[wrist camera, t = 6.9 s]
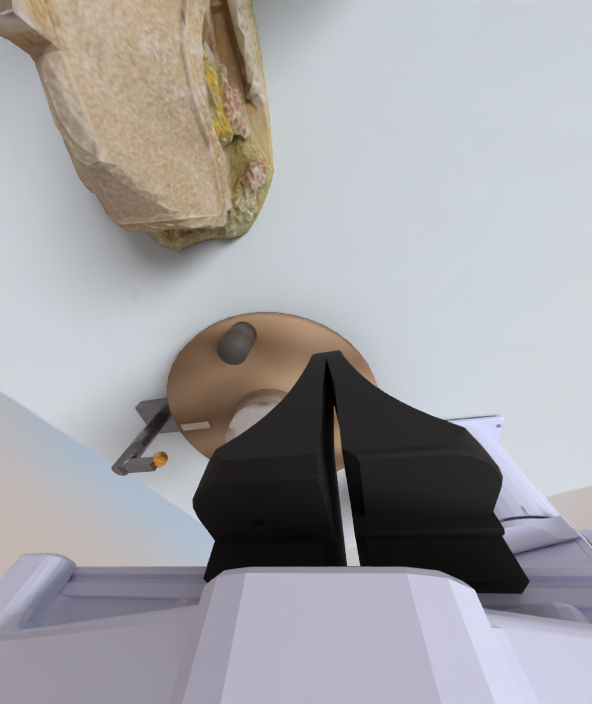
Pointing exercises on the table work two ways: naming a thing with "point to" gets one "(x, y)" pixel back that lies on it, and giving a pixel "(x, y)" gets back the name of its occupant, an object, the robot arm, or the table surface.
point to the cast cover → (253, 410)
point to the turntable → (246, 371)
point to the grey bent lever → (147, 438)
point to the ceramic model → (156, 108)
